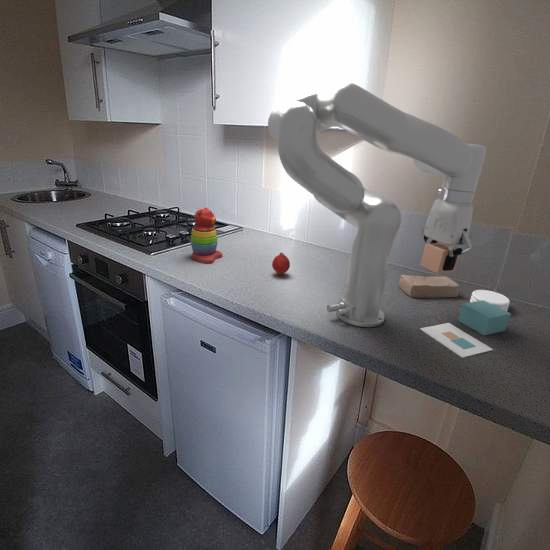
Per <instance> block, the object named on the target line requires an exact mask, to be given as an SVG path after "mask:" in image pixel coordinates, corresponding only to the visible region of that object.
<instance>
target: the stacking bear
mask: <svg viewBox="0 0 550 550" xmlns="http://www.w3.org/2000/svg"><path fill="white" fill-rule="evenodd" d="M193 217H194V222H195V225H194V226H193V228H192V230H191V235H190V246H191V249H192V253H191V259H192V260H194V261H195V262H198V263H202V264H208V265H209V264H213V263H215V260H216V259H221V258H222V257H224V256H223V252H221V251H219V250H217V246H218V241H219V240H218V234H217V230H216V227H215V226H214V224H215V223H216V221H217V218H216V216H215V214H214V213H213V212H212V210H211V209H208V207H204V208H200V209H198V210H197V211H195V213H194V216H193Z"/></svg>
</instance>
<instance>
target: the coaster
mask: <svg viewBox="0 0 550 550" xmlns="http://www.w3.org/2000/svg"><path fill="white" fill-rule="evenodd" d="M482 300H484V301H486V302H488V303H490V304H492V305H494V306H497V307H499V308H501V309H503V310H505V311H507V312H508V310H509V307H510V304H511V301H510V299H509V298H508V296H505V295H504V294H502V293H498V292H497V291H492V290H487V289H476V290H473V292H472V293H471V297H470V299H469V303H470V302H476V301H482Z"/></svg>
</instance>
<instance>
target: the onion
mask: <svg viewBox="0 0 550 550" xmlns="http://www.w3.org/2000/svg"><path fill="white" fill-rule="evenodd" d="M271 267H272V269H273V271H274V272H275V273H277V274H278V275H279V276H282V275H284V274H286V273H287V272H288V271H289V269H290V267H291V263H290V260H289V258H288V256H286V255H285V254H284V252H282V251H281V252H280V253H279V254H278V255H276V256H275V257H274V258H273V260H272V263H271Z"/></svg>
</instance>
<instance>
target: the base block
mask: <svg viewBox="0 0 550 550" xmlns="http://www.w3.org/2000/svg"><path fill="white" fill-rule="evenodd" d="M511 316H512V313H510V312H508V310H507V311H505V310H503V309H501V308H499V307H497V306H494V305H492V304H490V303H488V302H486V301H484V300H482V301H476V302H470V301H469V302H466V303H462V305H461V309H460V312H459V316H458V319H457V321H458V322H460V323H462V324H463V325H465V326H467V327H468V328H469V329H472V330H474V331H475V332H477V333H479V334H480V335H483V336H489V335H492V334H497V333H501V332H505V331H506V330H507V327H508V324H509V321H510V319H511Z"/></svg>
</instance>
